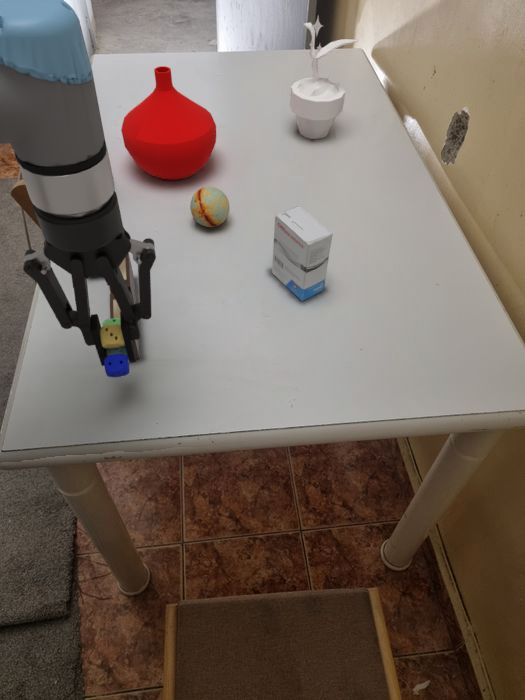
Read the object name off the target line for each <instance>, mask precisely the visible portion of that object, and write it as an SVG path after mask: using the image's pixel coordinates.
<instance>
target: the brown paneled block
mask: <svg viewBox="0 0 525 700" xmlns="http://www.w3.org/2000/svg"><path fill="white" fill-rule="evenodd" d="M119 268H120V270H121V273H122V275H123V278H124V280H125V282H126V285H127V287H128V290H129V292H130V294H131V297H132V299H133V301H134V304H137V295H136V282H135V275H134V271H133V265H132V261H131V258H130V252H129V253H128V254H127V256H126V257H125V259H124V260H123V262H122V263H121V265H120V266H119ZM108 287H109V292H110V293H109V319H112V318H120V311H121V310H120V308H119V306H118V304H117V302H116V299H115V297H114V295H113V293H112V291H111V288H110V286H108ZM133 341H134V345H135V360H140V359H141V356H140V339H138V340H133Z"/></svg>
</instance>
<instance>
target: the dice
mask: <svg viewBox="0 0 525 700" xmlns="http://www.w3.org/2000/svg"><path fill="white" fill-rule="evenodd" d="M100 338H101V343H102V346H103V347H104V348H106V355H107V357H106V358H105V359H104V365H105V366H104V372H105V375H106V377H108V378H122V377H125V376H127V375H129V374H130V362H129V358H128V354H127V351H126V347H125V343H124V339H123V335H122V331H121V321H120V318H112V319H110V318H108V319H105V320H104V321H103V322H102V325H101V329H100Z"/></svg>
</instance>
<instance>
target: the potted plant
mask: <svg viewBox="0 0 525 700" xmlns="http://www.w3.org/2000/svg"><path fill="white" fill-rule="evenodd" d="M302 26H304V27H305V28H306V29H308V30H309V32H310V35H311V41H310V43H309V44H308V46H310V50H309V55H310V58H311V71H312V77H305V78H302V79H299V80H296V81H295V82H294V83H293V84H292V85H291V86H290V99H289V106H290V110H291V112H292V113H294V114H295V115H294V116H295V118H296V124H297V127H298V132H299V134H300V135H301V136H303V137H304V138H306V139H310V140H320V139H322V138H325V137H327V135H328V134H329V132H330V130H331V128H332V126H333V124H334V122H335V120H336V118H337V117H339V115H341V114H342V112H343V109H344V104H345V103H344V102H345V97H346V91H345V89H344V86H343V85H342V84H340V83H339V82H336V81H335V80H332V79H330V78H329V77H319V76H320V75H319V60H321V58H323V57H325V56H326V55H328V54H330V53H331V52H333V51H334V50H336V49H338V48H340V47H342V46H345V45H350V44H354V43H358V42H359V40H357V39H351V38H346V39H345V38H344V39H338V40H333V41H331V42H329V43H327V44H326V45H325V46H323V47H322V46H321V43H319V45H318V46H317V47H316V49H317V50H318V52H317V54H316V49H315V44H316V43H315V41H316V36H318V34H319V31H320V29H321V28H322V27H323V24H321V23H320V17H319V14H318V15H317V18H316V21H315V22H314V24H312V22H311V21H310V22H304V23H303V24H302Z"/></svg>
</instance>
